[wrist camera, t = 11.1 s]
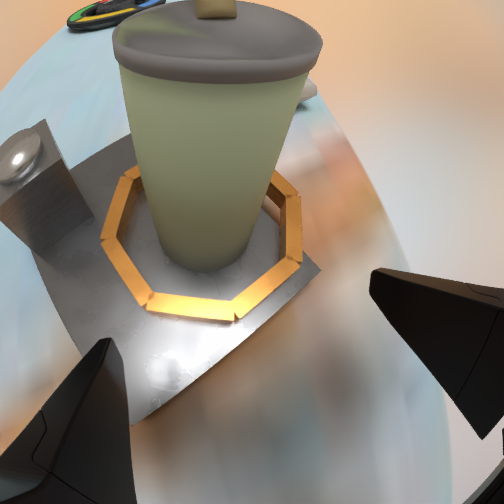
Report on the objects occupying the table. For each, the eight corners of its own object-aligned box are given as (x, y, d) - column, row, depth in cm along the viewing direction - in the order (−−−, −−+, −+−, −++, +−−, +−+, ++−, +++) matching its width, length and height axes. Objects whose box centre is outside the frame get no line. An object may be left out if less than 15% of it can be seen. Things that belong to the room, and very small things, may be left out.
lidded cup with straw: (264, 261, 17) (406, -18, 3) (164, 283, 16) (83, -52, 1) (235, 175, 20) (287, -56, 5) (150, 189, 18) (122, -57, 4)
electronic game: (92, 41, 32) (89, 20, 28) (56, 31, 36) (53, 16, 31) (186, 7, 42) (187, -10, 37) (132, -1, 45) (132, -15, 40)
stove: (325, 265, 21) (393, 198, 12) (142, 419, 14) (86, 459, 6) (186, 126, 24) (186, 42, 16) (31, 224, 18) (-24, 155, 10)
